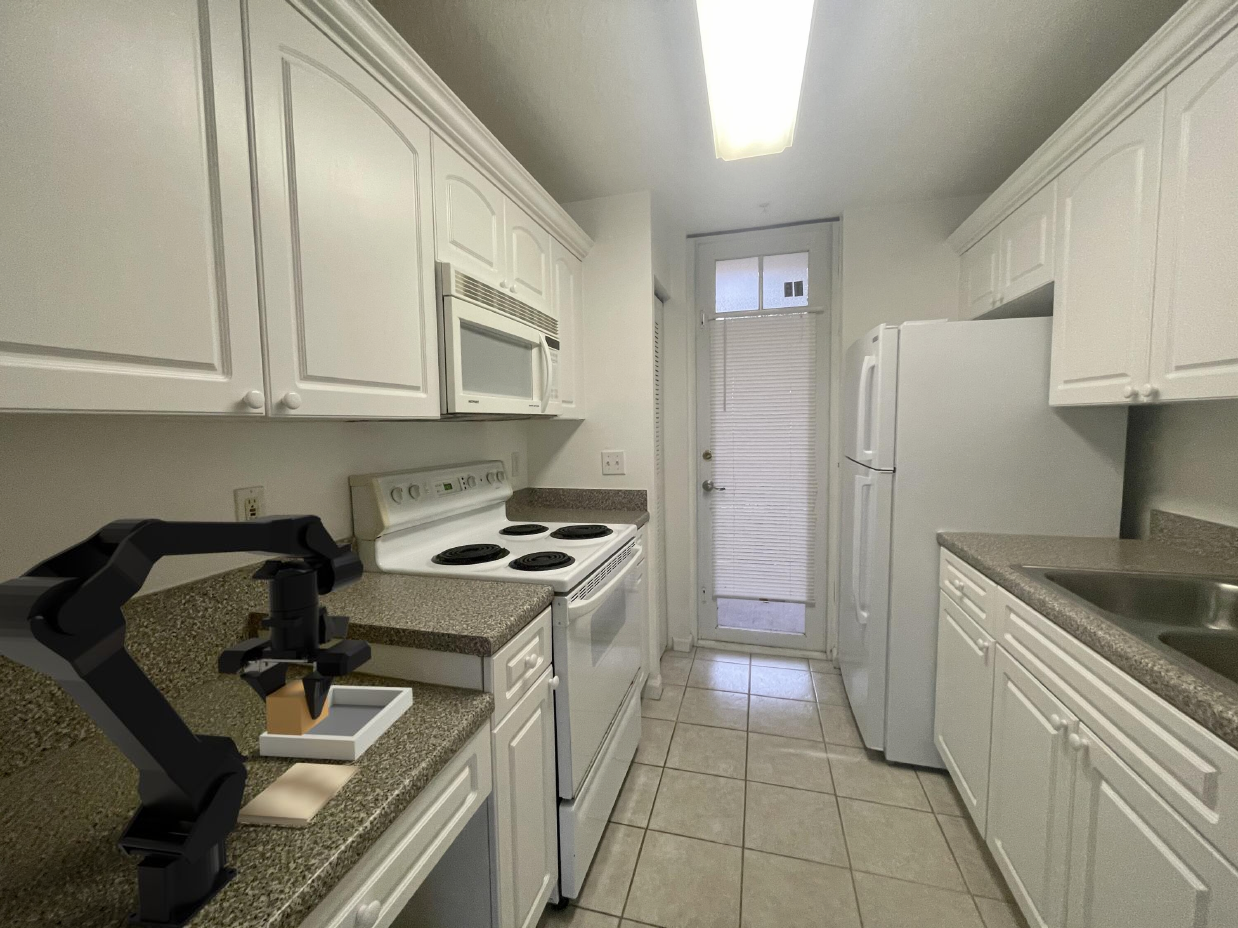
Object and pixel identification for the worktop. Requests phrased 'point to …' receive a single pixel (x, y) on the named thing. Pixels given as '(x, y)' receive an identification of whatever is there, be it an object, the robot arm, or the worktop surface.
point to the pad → (297, 794)
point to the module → (290, 711)
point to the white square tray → (344, 724)
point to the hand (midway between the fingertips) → (298, 717)
